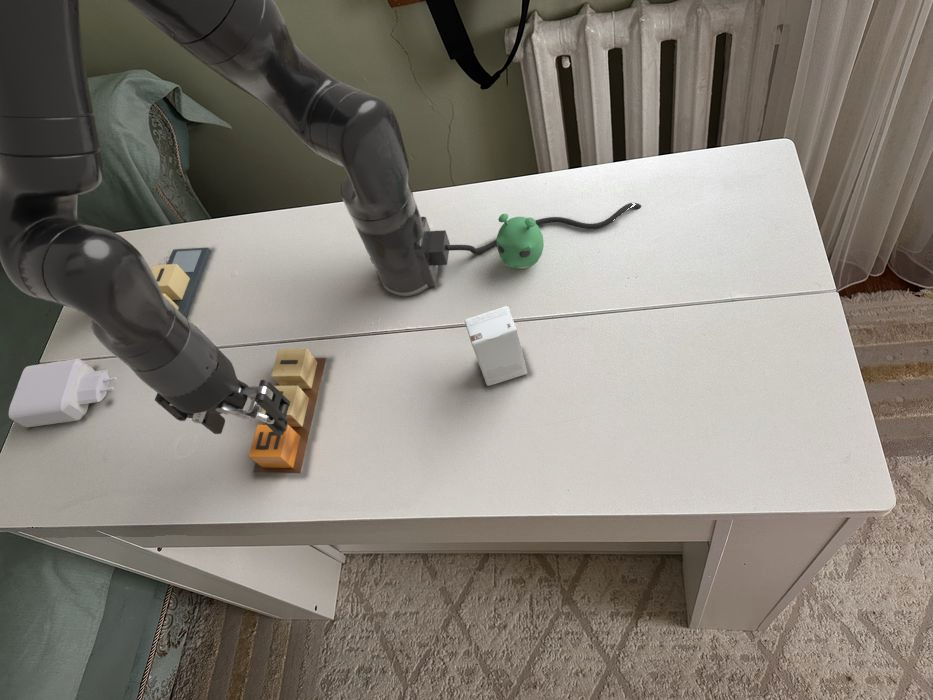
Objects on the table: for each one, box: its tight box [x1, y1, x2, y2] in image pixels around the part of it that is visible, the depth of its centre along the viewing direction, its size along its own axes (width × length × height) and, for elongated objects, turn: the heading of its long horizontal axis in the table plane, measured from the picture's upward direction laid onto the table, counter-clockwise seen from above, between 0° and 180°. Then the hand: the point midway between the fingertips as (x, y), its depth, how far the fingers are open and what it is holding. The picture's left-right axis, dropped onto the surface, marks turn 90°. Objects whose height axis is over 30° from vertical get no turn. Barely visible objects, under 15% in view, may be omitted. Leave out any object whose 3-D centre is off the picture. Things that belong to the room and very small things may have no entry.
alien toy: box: [495, 213, 545, 270], centre depth 93 cm, size 7×8×10 cm
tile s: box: [248, 424, 300, 468], centre depth 85 cm, size 5×5×4 cm
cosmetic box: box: [464, 305, 528, 387], centre depth 83 cm, size 6×4×12 cm
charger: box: [8, 358, 118, 428], centre depth 98 cm, size 5×9×15 cm
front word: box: [253, 348, 327, 474], centre depth 88 cm, size 18×7×5 cm, turn 175°
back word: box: [150, 247, 212, 319], centre depth 105 cm, size 18×7×5 cm, turn 175°
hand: (251, 427), depth 80 cm, fingers open, 8 cm apart
